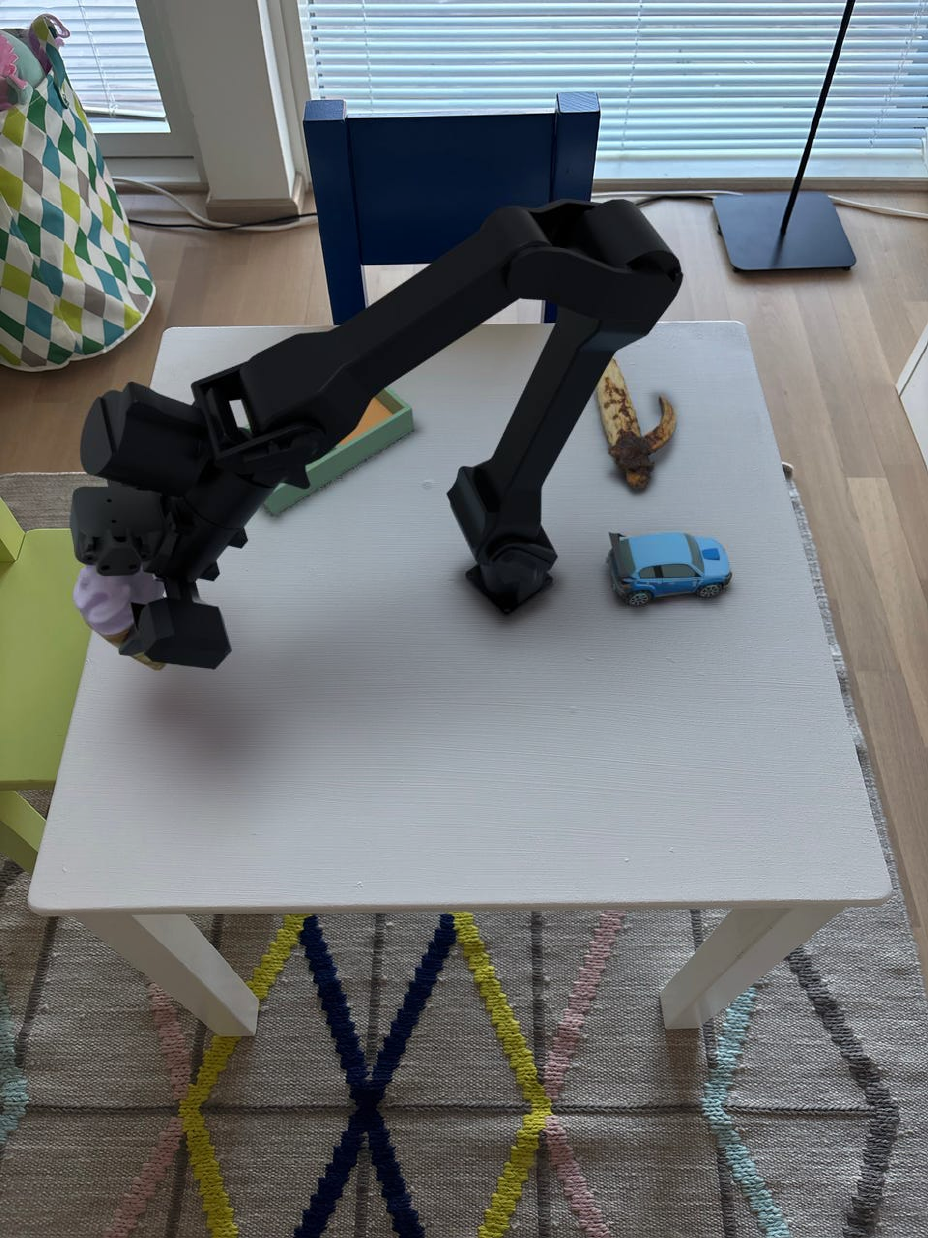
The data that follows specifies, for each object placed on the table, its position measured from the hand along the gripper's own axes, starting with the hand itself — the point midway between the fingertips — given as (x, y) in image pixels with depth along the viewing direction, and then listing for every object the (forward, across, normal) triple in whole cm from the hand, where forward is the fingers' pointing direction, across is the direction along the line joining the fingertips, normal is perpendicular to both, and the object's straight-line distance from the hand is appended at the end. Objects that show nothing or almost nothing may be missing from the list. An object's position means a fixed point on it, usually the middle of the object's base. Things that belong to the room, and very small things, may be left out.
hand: (117, 622), depth 75 cm
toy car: (-26, +5, +44) cm, 51 cm away
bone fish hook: (-30, -14, +48) cm, 59 cm away
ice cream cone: (+4, 0, +6) cm, 8 cm away
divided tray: (-7, -24, +24) cm, 35 cm away
